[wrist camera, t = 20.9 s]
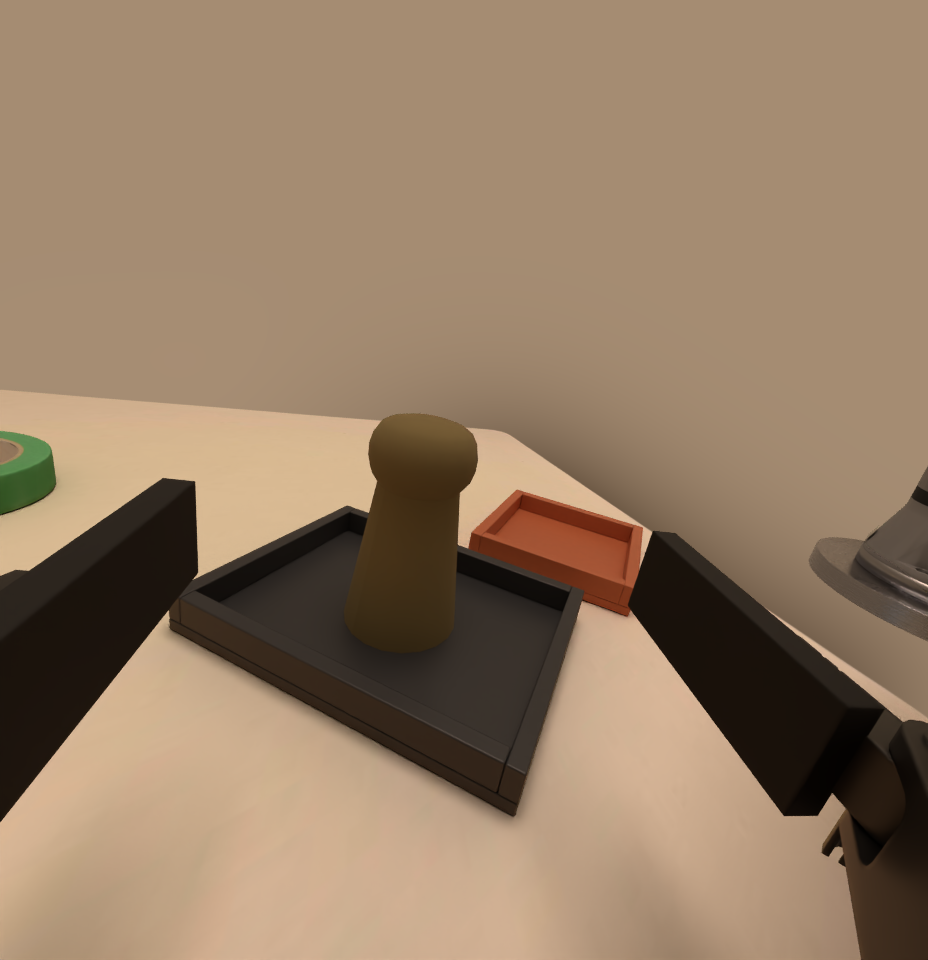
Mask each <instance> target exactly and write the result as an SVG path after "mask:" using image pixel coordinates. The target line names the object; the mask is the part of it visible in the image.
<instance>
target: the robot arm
mask: <svg viewBox="0 0 928 960" xmlns="http://www.w3.org/2000/svg"><path fill="white" fill-rule="evenodd" d="M877 528H878V527H877ZM877 528H876V529H875V530H874V531H872V532H871V533H870V534H869V535H868V537H867V538H866V540H865V541H864V542H863V543H862V545H861V547H860V548H859V550H858V552H857V554H856V559H857V561H858V562H859V563H860V565H862V566H863V567H864V568H865V569H866V570H867V571H869V572H870V573H872V574H873V575H875V576H876V577H878V578H879V579H881V580H883V581H884V582H886V583H888V584H890V585H892V586H893V587H895V588H897V589H899V590H901V591H903V592H905V593H907V594H909V595H911V596H914V597H916V598H918V599H920V600H922V601H925V602H927V603H928V467H927V469H926V470H925V472H924V474H923V476H922V477H921V479H920V481H919V483H918V485H917V487H916V489H915V491H914V493H913V494H912V496H911V498H910V499H909V501H908V503H907V504H906V505H905V506H904V507H903V508H902V509H901V510H899V511H898V512H897V513H896V514H895V515H894V516H893V517H891V518H890V519H889V520H888V521H887V522H886V523H884V524H883V525H882V526H881V527H880V528H879V529H877ZM197 573H198V551H197V521H196V491H195V481H186V480H176V479H167V478H162V479H161V480H160V481H158V482H157V483H155V484H154V485H152V486H151V487H149V488H148V489H147V490H145V491H144V492H142V493H141V494H139V495H138V496H136V497H135V498H134V499H132V500H131V501H129V502H128V503H126V504H125V505H123V506H122V507H121V508H119V509H118V510H116V511H115V512H113V513H112V514H110V515H109V516H108V517H106V518H105V519H103V520H102V521H100V522H99V523H97V524H96V525H95V526H93V527H92V528H90V529H89V530H87V531H86V532H84V533H83V534H82V535H80V536H79V537H77V538H76V539H74V540H73V541H71V542H70V543H69V544H67V545H66V546H64V547H63V548H61V549H60V550H58V551H57V552H56V553H54V554H53V555H51V556H50V557H48V558H47V559H45V560H44V561H43V562H41V563H40V564H38V565H37V566H35V567H34V568H32V569H31V570H30V571H23V570H14V571H12V572H9V573H7V574H4V575H2V576H0V822H1V821H2V819H3V818H4V817H5V816H6V814H7V813H8V812H9V811H10V809H11V808H12V807H13V806H14V804H15V803H16V802H17V801H18V799H19V798H20V797H21V795H22V794H23V793H24V792H25V790H26V789H27V788H28V787H29V785H30V784H31V783H32V782H33V780H34V779H35V778H36V777H37V775H38V774H39V773H40V772H41V770H42V769H43V768H44V766H45V765H46V764H47V763H48V761H49V760H50V759H51V758H52V756H53V755H54V754H55V753H56V751H57V750H58V749H59V748H60V746H61V745H62V744H63V743H64V741H65V740H66V739H67V737H68V736H69V735H70V734H71V732H72V731H73V730H74V729H75V727H76V726H77V725H78V724H79V722H80V721H81V720H82V719H83V717H84V716H85V715H86V713H87V712H88V711H89V710H90V708H91V707H92V706H93V705H94V703H95V702H96V701H97V700H98V698H99V697H100V696H101V695H102V693H103V692H104V691H105V690H106V688H107V687H108V686H109V684H110V683H111V682H112V681H113V679H114V678H115V677H116V676H117V674H118V673H119V672H120V671H121V669H122V668H123V667H124V666H125V664H126V663H127V662H128V661H129V659H130V658H131V657H132V655H133V654H134V653H135V652H136V650H137V649H138V648H139V647H140V645H141V644H142V643H143V642H144V640H145V639H146V638H147V637H148V635H149V634H150V633H151V632H152V630H153V629H154V628H155V626H156V625H157V624H158V623H159V621H160V620H161V619H162V618H163V616H164V615H165V614H166V613H167V611H168V610H169V609H170V608H171V606H172V605H173V604H174V602H175V601H176V600H177V599H178V597H179V596H180V595H181V594H182V592H183V591H184V590H185V589H186V587H187V586H188V585H189V584H190V582H191V581H192V580H193V579H194V577H195V576H196V575H197ZM628 607H629V608H630V610H631V611H632V612H633V614H634V615H635V616H636V618H637V619H638V620H639V622H640V623H641V624H642V626H643V627H644V628H645V630H646V631H647V632H648V634H649V635H650V636H651V638H652V639H653V640H654V642H655V643H656V645H657V646H658V647H659V649H660V650H661V651H662V653H663V654H664V655H665V657H666V658H667V659H668V661H669V662H670V663H671V665H672V666H673V667H674V669H675V670H676V671H677V673H678V674H679V675H680V677H681V678H682V680H683V681H684V682H685V684H686V685H687V686H688V688H689V689H690V690H691V692H692V693H693V694H694V696H695V697H696V698H697V700H698V701H699V702H700V704H701V705H702V706H703V708H704V709H705V710H706V712H707V713H708V715H709V716H710V717H711V719H712V720H713V721H714V723H715V724H716V725H717V727H718V728H719V729H720V731H721V732H722V733H723V735H724V736H725V737H726V739H727V740H728V741H729V743H730V744H731V745H732V747H733V748H734V750H735V751H736V752H737V754H738V755H739V756H740V758H741V759H742V760H743V762H744V763H745V764H746V766H747V767H748V768H749V770H750V771H751V772H752V774H753V775H754V776H755V778H756V779H757V780H758V782H759V783H760V785H761V786H762V787H763V789H764V790H765V791H766V793H767V794H768V795H769V797H770V798H771V799H772V801H773V802H774V803H775V805H776V806H777V807H778V809H779V810H780V811H781V813H782V814H783V815H784V816H818V814H819V813H820V811H821V810H822V808H823V806H824V805H825V803H826V802H827V800H828V799H829V797H830V795H831V794H832V793H833V794H834V795H835V796H836V798H837V799H838V800H839V801H840V802H841V803H842V804H843V805H844V807H845V808H846V810H845V811H844V813H843V814H842V816H841V817H840V819H839V820H838V822H837V823H836V825H835V826H834V828H833V829H832V831H831V833H830V834H829V836H828V837H827V839H826V840H825V842H824V843H823V846H822V852H821V853H823V854H824V855H826V856H828V857H829V855H830V854H831V852H832V851H833V849H834V848H835V847H838V846H839V847H842V848H843V855H842V857H841V858H840V860H839V862H838V863H840V864H841V865H843V866H845V867H846V872H847V877H848V883H849V889H850V895H851V901H852V907H853V913H854V919H855V925H856V931H857V937H858V943H859V949H860V955H861V960H928V723H925V722H922V721H916V720H908V721H905V722H902V721H901V720H900V719H899V718H897V717H896V716H895V715H894V714H893V713H891V712H890V711H889V710H888V709H887V708H885V707H884V706H883V705H882V704H881V703H879V702H878V701H877V700H876V699H875V698H873V697H872V696H871V695H870V694H869V693H867V692H866V691H865V690H864V689H863V688H861V687H860V686H859V685H858V684H857V683H855V682H854V681H853V680H852V679H851V678H849V677H848V676H847V675H846V674H845V673H843V672H842V671H839V670H838V668H837V667H836V666H835V665H834V664H833V663H831V662H830V661H829V660H828V659H827V658H824V657H823V656H822V654H821V653H819V652H818V651H817V650H816V649H815V648H813V647H812V646H811V645H810V644H809V643H807V642H806V641H805V640H804V639H803V638H801V637H799V636H798V635H796V634H795V633H794V632H793V631H792V630H790V629H789V628H788V627H787V626H786V625H784V624H783V623H782V622H781V621H780V620H778V619H777V618H776V617H775V616H774V615H772V614H771V613H770V612H769V611H768V610H767V609H765V608H764V607H763V606H762V605H761V604H759V603H758V602H757V601H756V600H754V599H753V598H752V597H751V596H750V595H749V594H747V593H746V592H745V591H744V590H742V589H741V588H740V587H739V586H738V585H737V584H735V583H734V582H733V581H732V580H731V579H729V578H728V577H727V576H726V575H725V574H723V573H722V572H721V571H720V570H719V569H717V568H716V567H715V566H714V565H713V564H712V563H710V562H709V561H708V560H706V558H704V557H703V556H702V555H700V553H698V552H697V551H696V550H695V549H694V548H692V547H691V546H690V545H689V544H688V543H686V542H685V541H684V540H683V539H682V538H680V537H679V536H678V535H677V534H676V533H669V532H659V531H653V532H652V535H651V538H650V541H649V544H648V547H647V550H646V553H645V556H644V558H643V561H642V564H641V567H640V570H639V573H638V576H637V579H636V582H635V584H634V587H633V590H632V593H631V596H630V599H629V602H628Z"/></svg>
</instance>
